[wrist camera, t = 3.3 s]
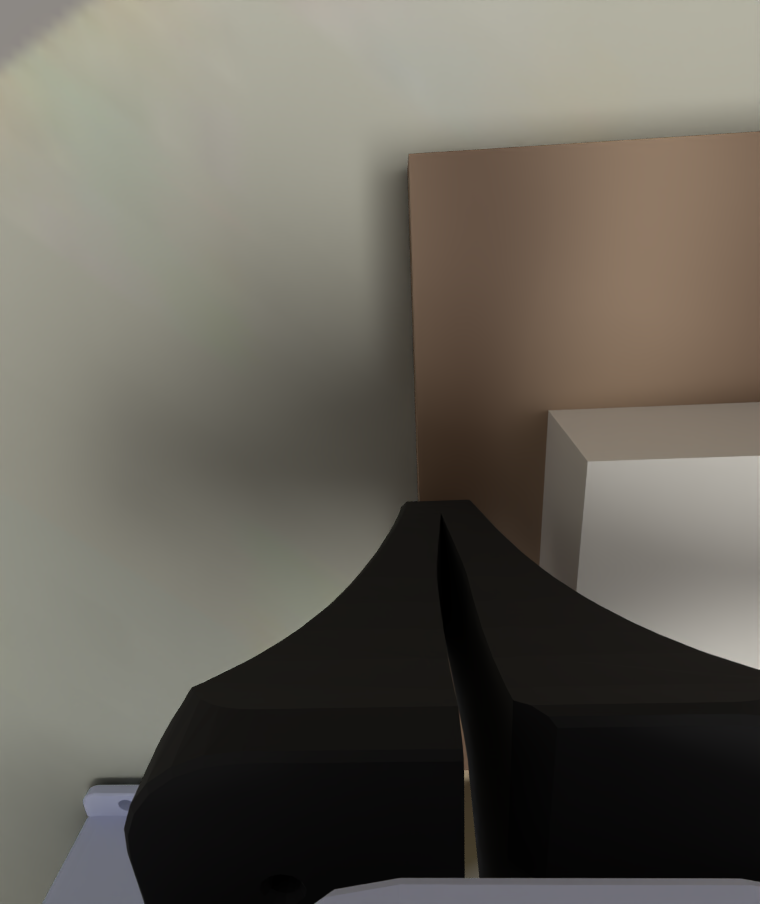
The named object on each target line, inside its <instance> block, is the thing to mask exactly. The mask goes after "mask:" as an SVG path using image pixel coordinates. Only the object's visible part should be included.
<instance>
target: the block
mask: <svg viewBox="0 0 760 904" xmlns="http://www.w3.org/2000/svg"><path fill="white" fill-rule="evenodd" d="M539 566H540V567H541V568H542V569H544V570H545V571H546V572H548V573H549V574H551V575H552V576H553V577H555V578H556V579H558V580H559V581H561V582H562V583H564V584H566V585H567V586H569V587H570V588H572V589H573V590H575V591H576V592H578V593H580V594H581V595H583V596H584V597H586V598H588V599H590V600H591V601H593V602H595V603H597V604H598V605H600V606H602V607H604V608H606V609H608V610H610V611H612V612H614V613H616V614H618V615H620V616H622V617H623V618H625V619H627V620H629V621H631V622H633V623H636V624H638V625H640V626H642V627H644V628H647V629H649V630H651V631H653V632H655V633H658V634H660V635H663V636H665V637H668V638H670V639H673V640H675V641H678V642H680V643H683V644H685V645H687V646H690V647H692V648H695V649H698V650H700V651H703V652H706V653H709V654H712V655H715V656H718V657H721V658H724V659H727V660H730V661H734V662H737V663H740V664H743V665H746V666H749V667H752V668H755V669H758V670H760V402H749V403H724V404H699V405H673V406H648V407H623V408H597V409H572V410H548V426H547V443H546V461H545V478H544V495H543V512H542V529H541V546H540V563H539Z"/></svg>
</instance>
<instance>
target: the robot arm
mask: <svg viewBox="0 0 760 904" xmlns="http://www.w3.org/2000/svg"><path fill="white" fill-rule="evenodd" d="M449 664H450V665H449ZM450 669H451V670H450ZM451 674H452V675H451ZM452 679H453V680H452ZM453 684H454V685H453ZM454 689H455V690H454ZM459 713H460V717H459ZM460 718H461V723H462V728H463V733H464V739H465V746H466V752H467V759H468V768H469V778H470V788H471V797H472V807H473V817H474V827H475V837H476V848H477V858H478V868H479V878H465V877H464V876H465V874H464V873H465V872H464V871H465V869H464V754H463V743H462V734H461V726H460ZM83 805H84V808H85V810H86V813H87V816H88V818H87V819H86V821H85V823H84V825H83V827H82V829H81V831H80V833H79V834H78V836H77V838H76V840H75V842H74V844H73V846H72V848H71V850H70V851H69V853H68V855H67V857H66V859H65V861H64V863H63V865H62V867H61V869H60V870H59V872H58V874H57V876H56V878H55V880H54V882H53V884H52V886H51V887H50V889H49V891H48V893H47V895H46V897H45V899H44V901H43V903H42V904H760V670H758V669H755V668H752V667H749V666H746V665H743V664H740V663H737V662H734V661H730V660H727V659H724V658H721V657H718V656H715V655H712V654H709V653H706V652H703V651H700V650H698V649H695V648H692V647H690V646H687V645H685V644H683V643H680V642H678V641H675V640H673V639H670V638H668V637H665V636H663V635H660V634H658V633H655V632H653V631H651V630H649V629H647V628H644V627H642V626H640V625H638V624H636V623H633V622H631V621H629V620H627V619H625V618H623V617H622V616H620V615H618V614H616V613H614V612H612V611H610V610H608V609H606V608H604V607H602V606H600V605H598V604H597V603H595V602H593V601H591V600H590V599H588V598H586V597H584V596H583V595H581V594H580V593H578V592H576V591H575V590H573V589H572V588H570V587H569V586H567V585H566V584H564V583H562V582H561V581H559V580H558V579H556V578H555V577H553V576H552V575H551V574H549V573H548V572H546V571H545V570H544V569H542V568H541V567H540V566H539V565H537V564H536V563H535V562H534V561H532V560H531V559H530V558H529V557H527V556H526V555H525V554H524V553H522V552H521V551H520V550H519V549H518V548H517V547H516V546H515V545H514V544H513V543H511V542H510V541H509V540H508V539H507V538H506V537H505V536H504V535H503V534H502V533H501V532H500V531H499V530H498V529H497V528H496V527H495V526H494V525H493V524H492V523H491V522H490V521H489V520H488V519H487V518H486V516H485V515H484V514H483V513H482V512H481V511H480V510H479V509H478V508H477V507H476V506H475V504H473V503H472V502H471V501H470V500H442V501H414V502H406V503H405V504H404V505H403V506H402V507H401V510H400V513H399V515H398V517H397V519H396V521H395V523H394V525H393V527H392V529H391V530H390V532H389V534H388V535H387V537H386V538H385V540H384V541H383V543H382V544H381V546H380V548H379V549H378V551H377V552H376V553H375V555H374V556H373V557H372V559H371V560H370V561H369V562H368V564H367V565H366V566H365V567H364V569H363V570H362V571H361V573H360V574H359V575H358V576H357V577H356V578H355V580H354V581H353V582H352V583H351V584H350V585H349V586H348V587H347V588H346V589H345V590H344V591H343V592H342V593H341V594H340V595H339V596H338V597H337V598H336V599H335V600H334V601H333V602H332V603H331V604H330V605H329V606H328V607H327V608H325V609H324V610H323V611H321V612H320V613H319V614H318V615H316V616H315V617H314V618H313V619H311V620H310V621H309V622H308V623H306V624H305V625H304V626H303V627H301V628H300V629H298V630H297V631H295V632H294V633H292V634H291V635H289V636H288V637H286V638H285V639H283V640H282V641H280V642H279V643H277V644H276V645H274V646H272V647H271V648H269V649H267V650H266V651H264V652H262V653H261V654H259V655H257V656H255V657H253V658H252V659H250V660H248V661H246V662H244V663H242V664H240V665H238V666H236V667H234V668H232V669H230V670H228V671H226V672H224V673H222V674H220V675H218V676H216V677H214V678H212V679H210V680H208V681H206V682H204V683H201V684H199V685H197V686H194V687H192V688H191V689H190V691H189V693H188V694H187V696H186V698H185V700H184V701H183V703H182V705H181V706H180V708H179V709H178V711H177V712H176V714H175V716H174V717H173V719H172V720H171V722H170V724H169V726H168V727H167V729H166V731H165V733H164V735H163V736H162V738H161V740H160V742H159V744H158V746H157V748H156V750H155V752H154V755H153V757H152V759H151V761H150V763H149V765H148V767H147V770H146V772H145V774H144V776H143V778H142V780H141V782H140V785H95V786H92V787H91V788H89V790H88V792H87V794H86V795H85V797H84V799H83Z"/></svg>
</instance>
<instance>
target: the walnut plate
mask: <svg viewBox="0 0 760 904" xmlns="http://www.w3.org/2000/svg"><path fill="white" fill-rule="evenodd" d="M407 174H408V205H409V236H410V267H411V298H412V329H413V360H414V390H415V421H416V452H417V483H418V501H442V500H470V501H471V502H472V503H473V504H475V506H476V507H477V508H478V509H479V510H480V511H481V512H482V513H483V514H484V515H485V516H486V518H487V519H488V520H489V521H490V522H491V523H492V524H493V525H494V526H495V527H496V528H497V529H498V530H499V531H500V532H501V533H502V534H503V535H504V536H505V537H506V538H507V539H508V540H509V541H510V542H511V543H513V544H514V545H515V546H516V547H517V548H518V549H519V550H520V551H521V552H522V553H524V554H525V555H526V556H527V557H529V558H530V559H531V560H532V561H534V562H535V563H536V564H537V565H539V563H540V546H541V529H542V512H543V495H544V478H545V461H546V443H547V426H548V410H572V409H597V408H623V407H648V406H673V405H699V404H724V403H749V402H760V131H758V132H743V133H727V134H712V135H696V136H681V137H665V138H650V139H634V140H618V141H603V142H587V143H572V144H556V145H541V146H525V147H509V148H494V149H478V150H463V151H447V152H432V153H416V154H409V157H408V168H407ZM449 665H450V664H449ZM450 670H451V669H450ZM451 675H452V674H451ZM452 680H453V679H452ZM453 685H454V684H453ZM454 690H455V689H454ZM459 717H460V713H459ZM460 726H461V734H462V743H463V754H464V770H469V768H468V759H467V752H466V746H465V739H464V733H463V728H462V723H461V718H460Z"/></svg>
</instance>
